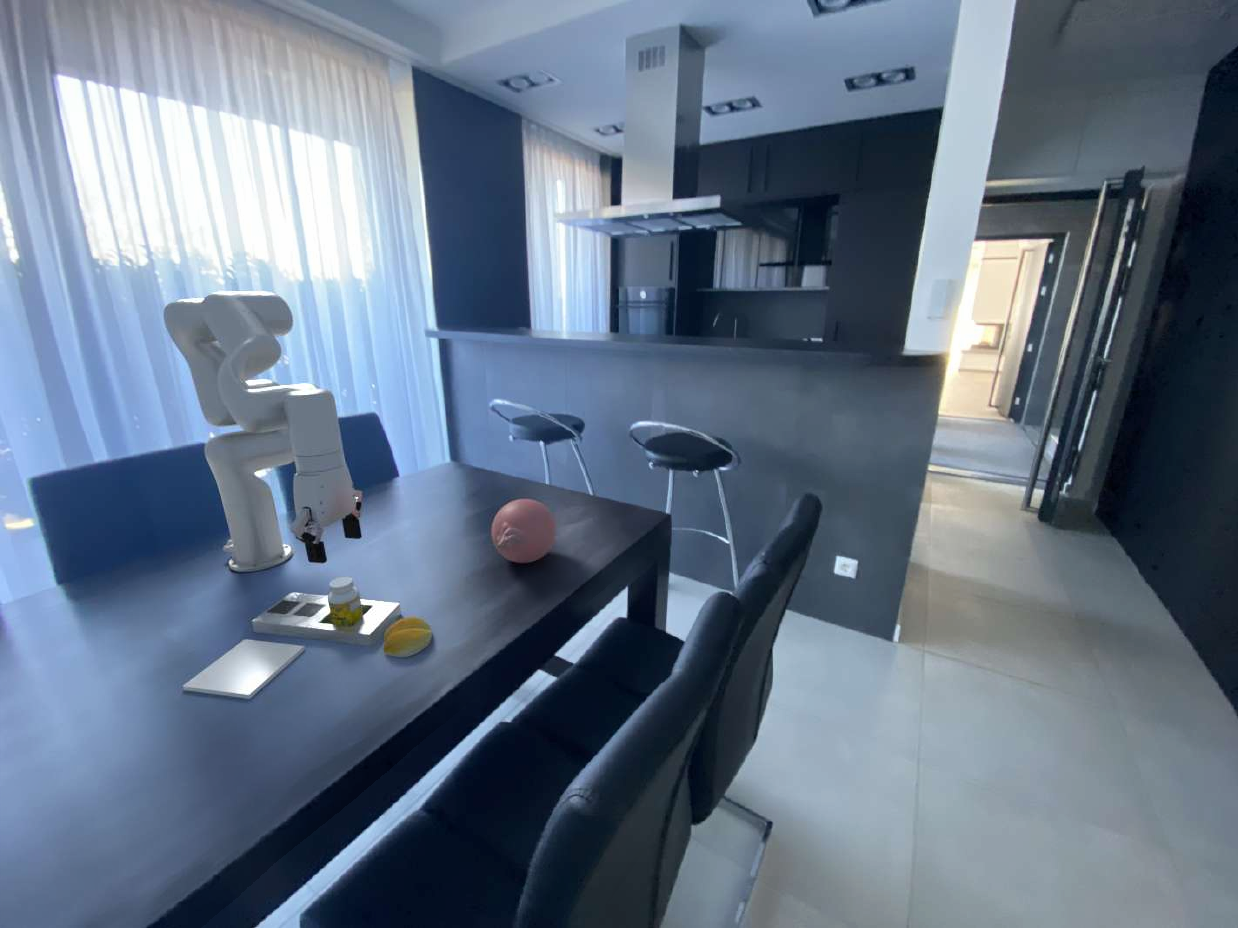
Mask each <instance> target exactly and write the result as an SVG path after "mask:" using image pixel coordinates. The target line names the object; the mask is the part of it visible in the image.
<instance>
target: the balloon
mask: <svg viewBox="0 0 1238 928" xmlns="http://www.w3.org/2000/svg"><path fill="white" fill-rule="evenodd" d="M553 515H554V514H553V513H552V512H551V511H550V509H548V507H546V505H544V504H543V503H541V502H540V501H537V500H534V499H530V498H518V499H515V500H512V501H510V502H508V503H507V504H505V505H504V506H502V507H501V508H500V509H499V511H498V512H497V513H496V515H495V516H494V519H493V521H492V525H491V539H492V542H493V544H494V547H495V548H496V550H497V551H498V553H499V554H500V555H501V556H502V557H504V558H505V559H507V560H508V561H511V562H513V563H518V564H529V563H532V562H536V561H538V560H540V559H542V558H543V557H544V556H545V555H547V553H548V552H549V551H550V550H551V549H552V548H553V545H554V543H555V540H556V536H557V523H556V520H555V518H554V516H553Z"/></svg>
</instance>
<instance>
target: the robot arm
mask: <svg viewBox="0 0 1238 928" xmlns="http://www.w3.org/2000/svg"><path fill="white" fill-rule="evenodd" d="M293 317H294V316H293V313H292V310H291V308H290V306H289V305H288V303H287V302H286V301H285V300H284V299H283V297H281V296H280V295H278V294H276V293H275V292H270V291H269V292H268V291H236V290H235V291H232V290H231V291H230V290H228V291H217V292H213V293H210V294H208V295H206V296H205V297H204V298H186V299H179V300H177V299H176V300H175V301H172V302H169V303H168V304H166V305H165V307H164V309H163V319H164V320H163V321H164V325H165V328H166V331H167V333H168V335H169V337H170V339H171V340H172V342H173V344H174V345H175V347H176V348H177V349H178V351H179V352H180V353H181V355H182V356H183V358H184V359H185V361H186V363H187V365H188V368H189V369H190V374H191V377H192V382H193V384H194V389H195V392H196V397H197V400H198V403H199V407H200V409H201V411H202V414H203V417H204V419H205V420H206V422H207V423H208V424H209V425H210V426H213V427H218V428H226V427H234V426H239V427H240V428H241V429H243V430H238V431H231V432H226V433H222V434H219V435H215V436H213V437H212V438H210V439H209V440H208V441H207V442H206V444H205V445H204V455H205V458H206V461H207V463H208V465H209V468H210V470H211V472H212V474H213V477H214V478H215V481H216V484H217V488H218V490H219V494H220V497H221V499H220V500H221V503H222V506H223V507H222V508H223V510H224V515H225V518H226V522H227V525H228V530H229V534H230V539H228V540H227V541H226V545H224V546H223V547H222V551H223V552H225V553H226V552H227V553H231V558H230V559H229V560H228V566H229V568H230V570H232V571H235V572H239V573H245V572H246V573H250V572H251V573H252V572H258V571H262V570H267V569H270V568H273V567H276V566H277V565H280V564H283V563H284V562H286V561H287V560H288V559H290V557H291V556H292V555H293V550H292V546H290V545H288V544H285V543H283V538H282V534H281V533H282V532H281V528H280V524H279V519H278V515H277V509H276V505H275V501H274V500H275V499H274V496H273V495H274V494H273V491H272V488H271V486H270V485H269V483H268V482H267V481H266V480H264V479H262V478H260V477H259V476H258V475H256V474H255V473H257V472H259V471H263V470H267V469H271V468H275V467H276V468H277V467H281V466H285V465H289V464H291V463H293V462H294V465H295V471H296V473H295V474H293V484H292V485H293V487H292V489H293V502H294V510H295V516H296V517H295V520H294V521H293V522H292V523H291V525H290V527H289V530H290V531H291V533H292V534H293V535H294V536H295V539H296V540H299V541H300V543H301V544H304V546H305V551H306V552H305V553H306V556H307V560H308V562H309V563H311V564H312V563H315V564H325V563H326V562H327V561H328V559H327V558H328V557H327V553H326V548H325V542H324V541H322V540H321V539H322V537H323V533H324V530H325V529H327V528H328V527H331V526H332V525H334V524H335V523H338V522H339V521H340V520H341V523H342V528H343V534H344V538H345V539H353V540H361V538H362V529H361V524H360V518H361V512H360V511H361V508H362V498H363V492H362V490H358V489H354V483H353V480H352V476H351V474H350V470H349V467H348V465H347V463H346V459H345V453H344V447H343V441H342V434H341V429H340V423H339V418H338V417H339V416H338V411H337V405H336V400H335V396H334V395H333V393H332V392H331V391H330V390H329V389H324V388H320V387H319V386H317V384H316V385H315V384H314V383H309V382H308V383H307V382H306V383H304V382H303V383H291V384H281V385H280V384H279V383H277V382H276V381H275V380H272V379H253V378H254V377H257V376H258V375H261V374H263V373H265V372H267V371H268V370H270V369H272V368H273V367H274V366H275V365H276V364H277V363H278V362H279V360H280V359H281V356H282V347H281V344H280V342H279V341H278V339H277V338H279V337H284V336H286V335H287V334H289V333H290V332H291V330H292V329H293V325H294V318H293ZM251 379H253V380H251ZM313 530H315V531H314V534H312V531H313Z"/></svg>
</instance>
